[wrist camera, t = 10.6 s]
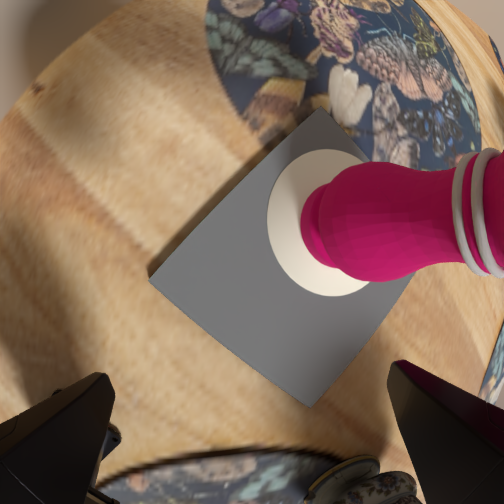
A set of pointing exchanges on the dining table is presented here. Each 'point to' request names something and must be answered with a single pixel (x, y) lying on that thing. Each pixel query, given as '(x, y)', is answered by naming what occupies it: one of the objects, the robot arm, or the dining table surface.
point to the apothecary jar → (362, 484)
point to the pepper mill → (409, 218)
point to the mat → (279, 270)
